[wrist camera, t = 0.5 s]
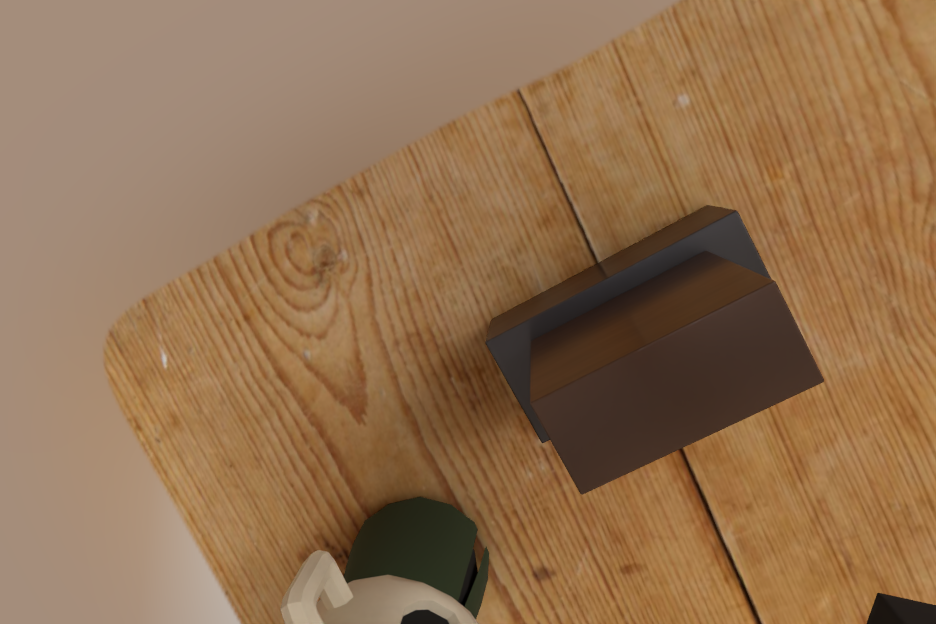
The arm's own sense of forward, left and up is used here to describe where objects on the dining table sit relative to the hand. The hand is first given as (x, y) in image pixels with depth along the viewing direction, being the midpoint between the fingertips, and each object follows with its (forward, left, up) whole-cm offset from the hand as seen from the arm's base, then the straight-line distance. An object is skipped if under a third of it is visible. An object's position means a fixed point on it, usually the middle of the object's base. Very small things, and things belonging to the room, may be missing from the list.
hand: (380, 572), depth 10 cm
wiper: (0, +6, -20) cm, 21 cm away
